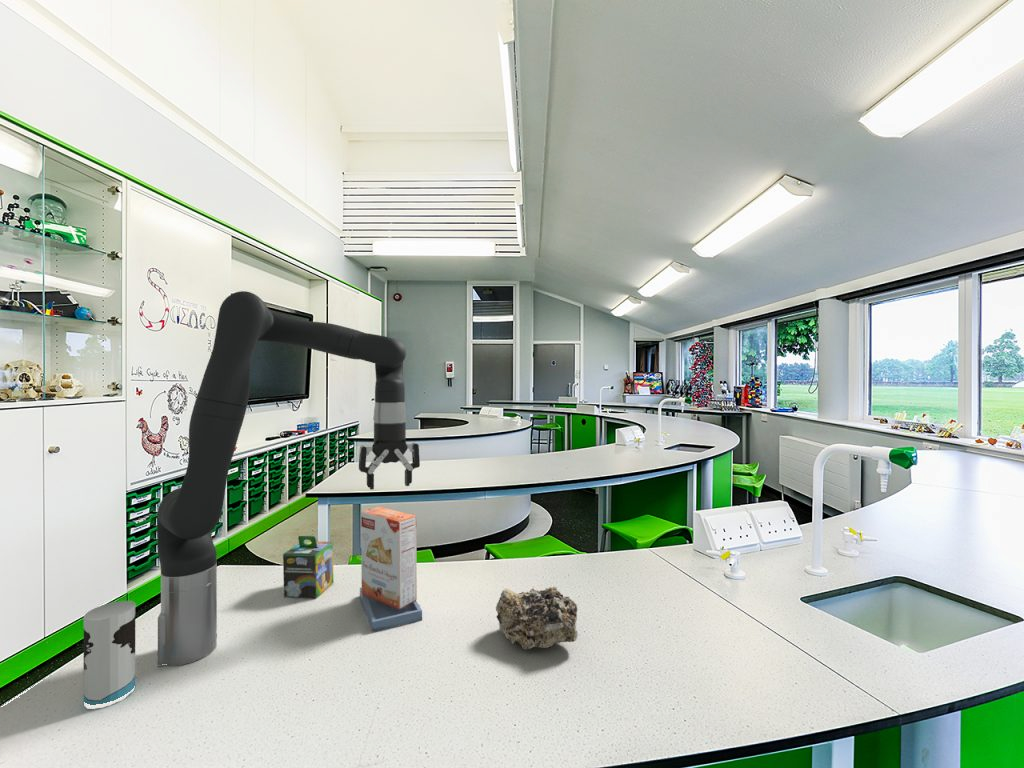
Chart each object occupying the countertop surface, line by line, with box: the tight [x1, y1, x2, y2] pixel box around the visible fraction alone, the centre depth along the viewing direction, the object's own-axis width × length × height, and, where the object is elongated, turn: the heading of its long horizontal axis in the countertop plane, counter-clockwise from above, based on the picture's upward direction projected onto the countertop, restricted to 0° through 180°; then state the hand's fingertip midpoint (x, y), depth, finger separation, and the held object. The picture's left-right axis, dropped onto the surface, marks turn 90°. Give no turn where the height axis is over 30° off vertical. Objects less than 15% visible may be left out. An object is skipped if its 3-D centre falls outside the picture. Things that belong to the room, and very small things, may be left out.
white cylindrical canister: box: [83, 600, 136, 705], centre depth 78 cm, size 7×7×15 cm
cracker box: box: [360, 506, 418, 610], centre depth 109 cm, size 14×6×21 cm, turn 56°
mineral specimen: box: [495, 586, 579, 650], centre depth 97 cm, size 16×18×10 cm
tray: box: [359, 586, 423, 633], centre depth 109 cm, size 11×19×2 cm, turn 27°
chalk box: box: [282, 535, 335, 600], centre depth 118 cm, size 9×9×15 cm
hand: (389, 487), depth 109 cm, fingers open, 8 cm apart
